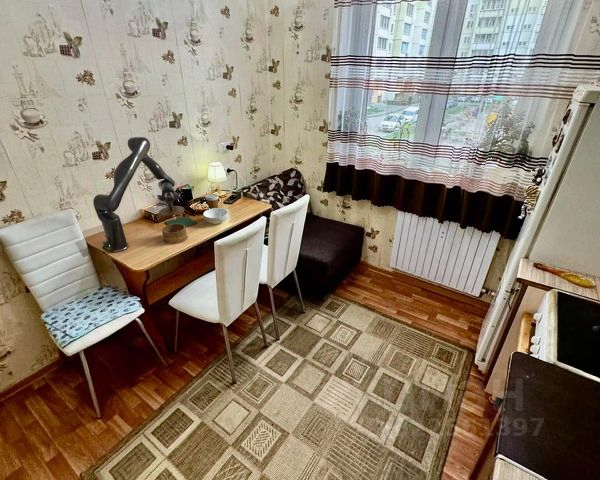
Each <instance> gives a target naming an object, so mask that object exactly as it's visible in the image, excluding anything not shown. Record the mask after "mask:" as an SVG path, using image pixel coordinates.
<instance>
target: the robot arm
mask: <svg viewBox="0 0 600 480" xmlns="http://www.w3.org/2000/svg"><path fill="white" fill-rule="evenodd" d="M127 147H128V149H129V150H130V152H131V153H130V154H129V155H128V156H127V157H125V158H124V159H123V160H121V161H120V162H119V163H118V164H117V166H116V167H115V169H114V171H113V174H112V180H113V187H112V188H111V189H112V190H111V192H110V193H109V194H103V193H99V194H96V195H95V196H94V198H93V201H92V204H93V208H94V210H95V213H96V216H97V218H98V220H99V221H100V222H101V225H102V227H103V228H102V229H103V231H104V236H105V239H106V241H103V242H102V249H103V250H104V251H109V250H110V252H111V253H119V252H124V251H125V250H127V249H128V248H129V244H128V240H127V237H126V235H125V231H124V228H123V224H122V220H121V217H120V215H119V214H117V213H115V212H116V211H117V210H118V208H119V206H120V205H121V202H122V200H123V197H124V195H125V193H126V190H127V188H128V187H129V185H130V182H131V181H132V180H133V177H134V176H135V173H136V172H137V170H138V168H139V167H140V165H141V163H142V164H143V165H144V166H146V168H147V169H148V170H149V172H151V174H152V176H153V177H154V178H155V179H156V180H157V181H158V183H157V186H158V188H159V189H160V190H161V194H157V195H156V196H157V200H159V201H161V202H165V203H166V204H168V200H167V196H171V197H172V202H173V203H174V202H175V200H179V199H180V197H181V193H180V192H175V189H174V187H175V186H176V182H175V180H174V179H173V178H172V177H171V176H170V175H168V174H167V173H166V172H165V170H164V169H163V167H162V166H161V165H160V164H159V163H158V162H157V161H156V160H154V159H153V158H152V157H151V156H149V155H148V153H149V151H150V149H151V142H150V140H149V139H148V138H147V137H144V136H133V137H129V138H128V140H127Z"/></svg>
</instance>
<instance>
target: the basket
mask: <svg viewBox="0 0 600 480" xmlns="http://www.w3.org/2000/svg"><path fill="white" fill-rule="evenodd" d="M161 232H162V237H163V241H164V243H166V244H168V245H176V244H181V243H184V242H185V241H186V240H187V239H188V233H187V227H185V225H183V224H179V223H175V224H170V225H167V224H166V225H165V226H163V227H162V228H161Z"/></svg>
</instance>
